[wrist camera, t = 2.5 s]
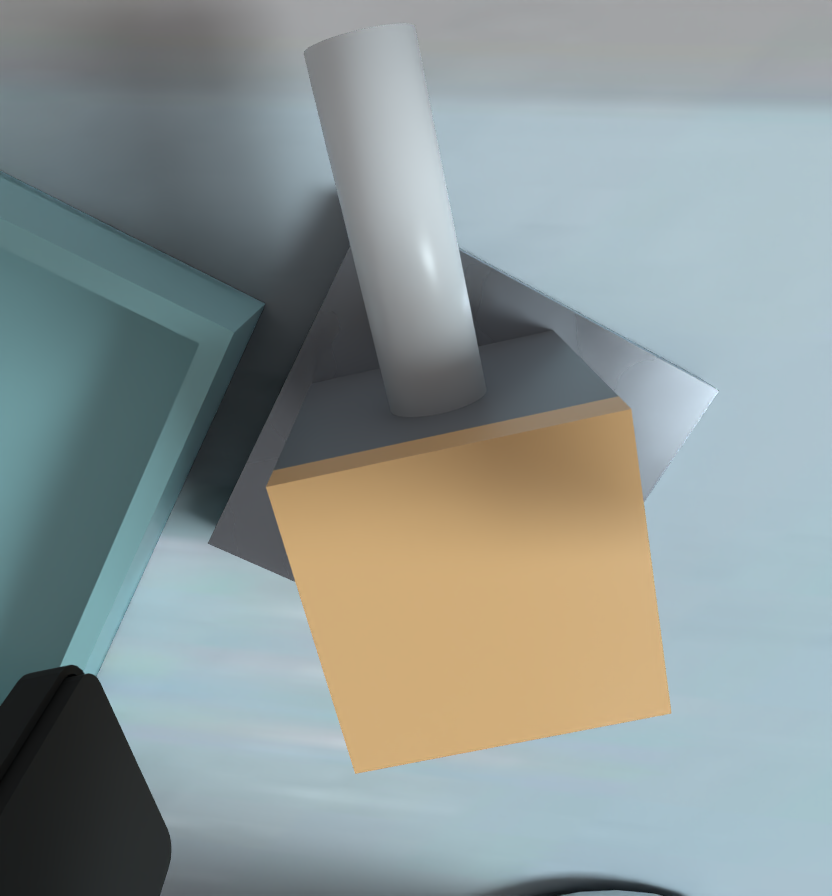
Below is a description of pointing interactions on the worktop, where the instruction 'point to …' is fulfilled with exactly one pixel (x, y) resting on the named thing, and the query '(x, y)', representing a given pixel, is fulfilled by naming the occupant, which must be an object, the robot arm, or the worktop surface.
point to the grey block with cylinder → (455, 475)
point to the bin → (95, 418)
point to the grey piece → (495, 319)
